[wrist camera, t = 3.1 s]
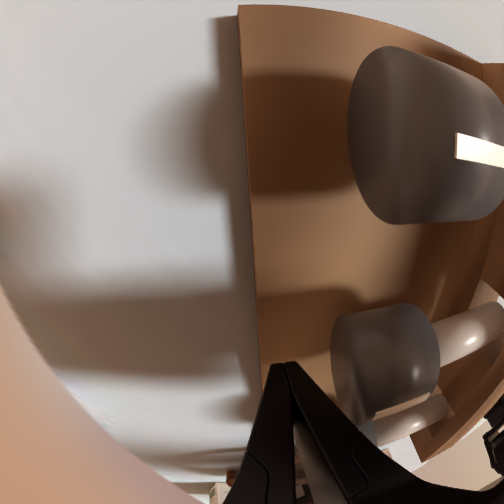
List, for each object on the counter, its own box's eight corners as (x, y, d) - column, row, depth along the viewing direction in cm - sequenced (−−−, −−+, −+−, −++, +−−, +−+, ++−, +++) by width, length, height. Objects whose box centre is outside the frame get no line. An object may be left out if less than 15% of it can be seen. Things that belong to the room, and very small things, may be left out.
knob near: (503, 112, 6) (574, 130, 2) (498, 198, 8) (562, 235, 4) (343, 62, 5) (439, 27, 2) (346, 196, 7) (432, 260, 4)
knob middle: (482, 264, 9) (535, 310, 6) (458, 327, 11) (497, 375, 7) (337, 291, 9) (388, 381, 5) (325, 365, 10) (353, 443, 7)
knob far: (438, 366, 12) (467, 412, 9) (416, 401, 14) (438, 442, 10) (316, 403, 12) (335, 468, 8) (309, 433, 13) (322, 486, 10)
